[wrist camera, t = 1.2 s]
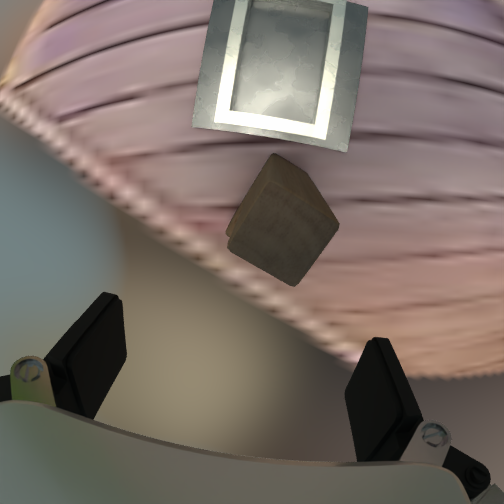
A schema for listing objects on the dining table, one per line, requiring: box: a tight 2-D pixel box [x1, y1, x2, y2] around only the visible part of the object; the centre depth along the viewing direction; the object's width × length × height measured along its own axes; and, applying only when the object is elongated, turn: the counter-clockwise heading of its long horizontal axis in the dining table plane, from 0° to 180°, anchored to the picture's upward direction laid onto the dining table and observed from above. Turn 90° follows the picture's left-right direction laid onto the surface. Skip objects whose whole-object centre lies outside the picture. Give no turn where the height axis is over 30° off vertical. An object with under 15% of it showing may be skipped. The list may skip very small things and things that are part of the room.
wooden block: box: [226, 154, 339, 287], centre depth 25 cm, size 9×4×18 cm, turn 149°
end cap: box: [192, 0, 368, 152], centre depth 26 cm, size 16×17×4 cm
